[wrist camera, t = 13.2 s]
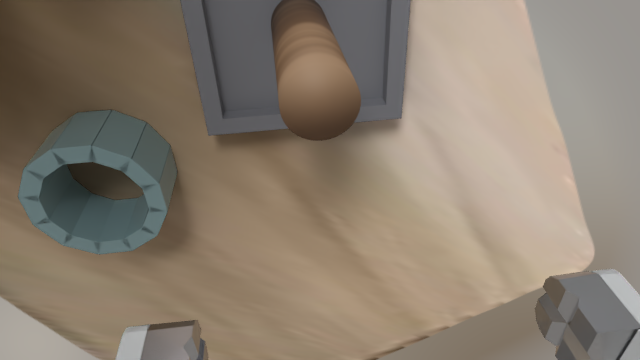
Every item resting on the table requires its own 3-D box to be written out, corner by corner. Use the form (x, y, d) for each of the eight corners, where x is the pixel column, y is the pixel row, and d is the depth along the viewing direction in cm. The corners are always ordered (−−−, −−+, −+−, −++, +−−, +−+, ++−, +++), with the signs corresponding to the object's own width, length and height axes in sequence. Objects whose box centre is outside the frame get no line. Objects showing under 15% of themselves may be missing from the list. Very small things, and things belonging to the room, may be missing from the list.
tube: (27, 116, 32) (-6, 154, 28) (159, 105, 33) (146, 140, 28) (73, 216, 37) (51, 259, 33) (186, 204, 38) (178, 245, 34)
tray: (167, -98, 26) (160, -95, 24) (407, -110, 27) (418, -108, 25) (211, 121, 34) (208, 135, 32) (393, 105, 35) (401, 118, 33)
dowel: (268, -3, 28) (275, 68, 18) (325, -7, 28) (361, 61, 19) (273, 53, 30) (282, 143, 21) (326, 49, 31) (360, 136, 21)
